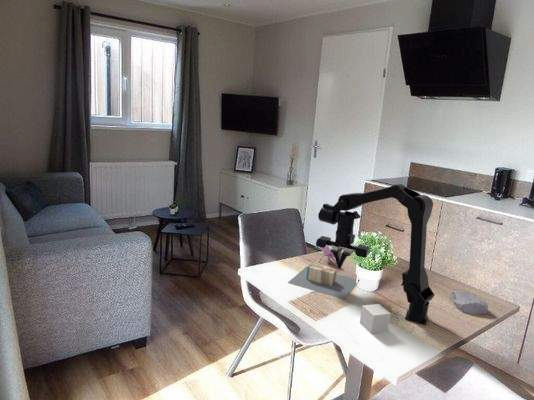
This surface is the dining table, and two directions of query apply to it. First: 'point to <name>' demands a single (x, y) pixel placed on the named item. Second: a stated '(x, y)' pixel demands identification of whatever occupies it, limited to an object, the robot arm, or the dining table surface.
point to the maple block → (321, 274)
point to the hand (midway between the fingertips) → (339, 268)
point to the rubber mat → (338, 289)
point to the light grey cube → (374, 318)
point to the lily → (327, 253)
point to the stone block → (469, 302)
